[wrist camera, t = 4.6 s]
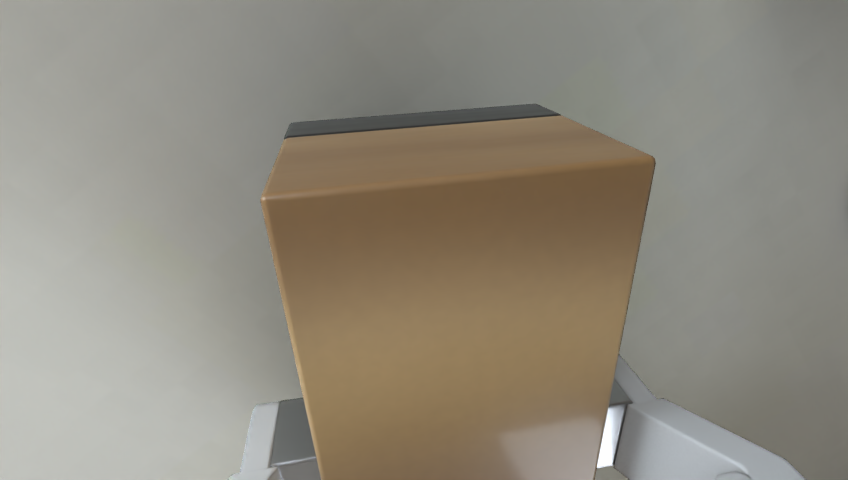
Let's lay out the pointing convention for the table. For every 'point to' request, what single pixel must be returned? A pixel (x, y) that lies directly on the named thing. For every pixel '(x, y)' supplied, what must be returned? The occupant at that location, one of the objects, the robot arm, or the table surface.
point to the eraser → (456, 288)
